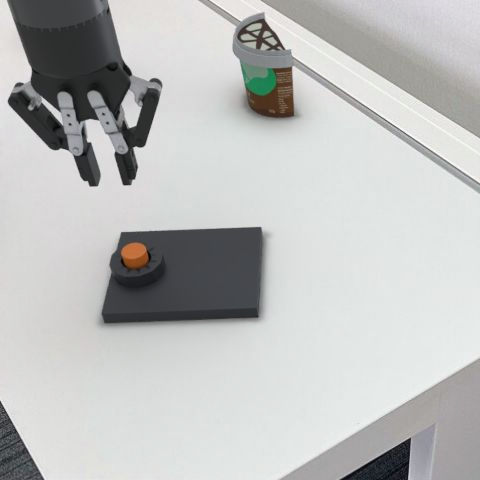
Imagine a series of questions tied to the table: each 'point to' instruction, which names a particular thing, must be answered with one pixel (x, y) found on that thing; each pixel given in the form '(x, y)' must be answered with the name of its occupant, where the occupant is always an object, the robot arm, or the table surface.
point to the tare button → (135, 255)
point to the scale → (187, 276)
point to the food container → (264, 67)
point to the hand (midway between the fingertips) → (112, 180)
